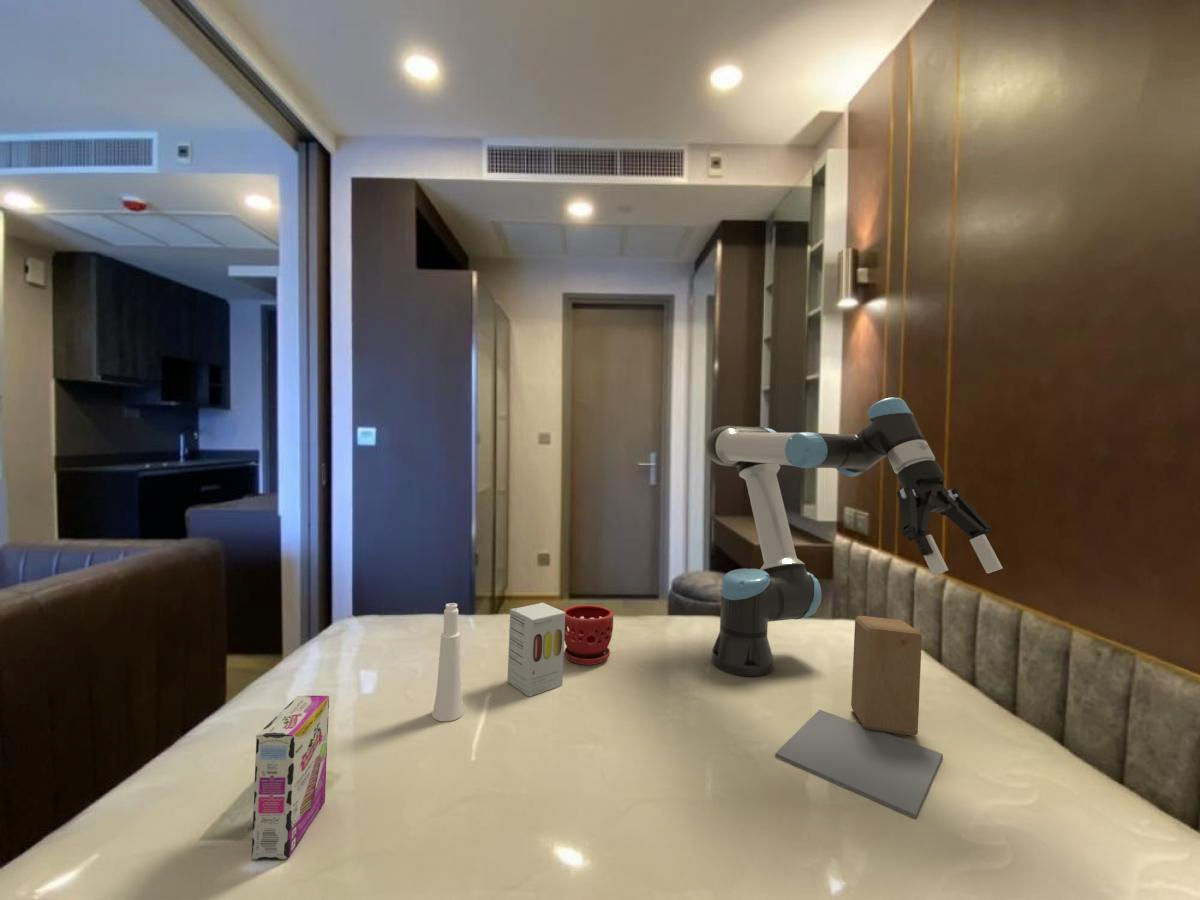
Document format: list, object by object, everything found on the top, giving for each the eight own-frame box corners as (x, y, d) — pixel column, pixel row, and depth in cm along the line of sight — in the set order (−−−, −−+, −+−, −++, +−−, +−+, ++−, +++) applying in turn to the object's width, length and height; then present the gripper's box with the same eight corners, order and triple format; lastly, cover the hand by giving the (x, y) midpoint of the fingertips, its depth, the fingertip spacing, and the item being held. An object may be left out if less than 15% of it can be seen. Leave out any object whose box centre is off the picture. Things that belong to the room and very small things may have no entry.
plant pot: (621, 655, 137) (622, 609, 136) (593, 673, 126) (595, 623, 125) (579, 643, 144) (581, 600, 143) (550, 659, 133) (551, 612, 132)
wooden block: (919, 738, 101) (924, 633, 101) (863, 730, 103) (868, 627, 103) (900, 715, 110) (904, 619, 111) (849, 708, 112) (854, 613, 113)
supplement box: (528, 698, 113) (530, 619, 112) (505, 682, 119) (508, 608, 119) (564, 685, 119) (566, 611, 119) (540, 671, 126) (542, 601, 125)
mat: (775, 756, 94) (775, 753, 94) (819, 712, 111) (819, 709, 111) (915, 818, 80) (915, 814, 80) (942, 757, 96) (942, 753, 96)
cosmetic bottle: (469, 714, 105) (473, 605, 105) (442, 725, 101) (445, 611, 100) (453, 703, 109) (456, 598, 109) (426, 713, 105) (429, 604, 104)
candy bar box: (290, 861, 68) (293, 735, 67) (249, 862, 67) (252, 736, 67) (328, 801, 79) (330, 693, 79) (293, 802, 78) (295, 693, 78)
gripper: (882, 455, 97) (934, 566, 86) (977, 461, 105) (1035, 562, 94) (853, 474, 103) (899, 580, 92) (945, 478, 111) (997, 576, 100)
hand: (968, 572), depth 93 cm, fingers open, 13 cm apart
